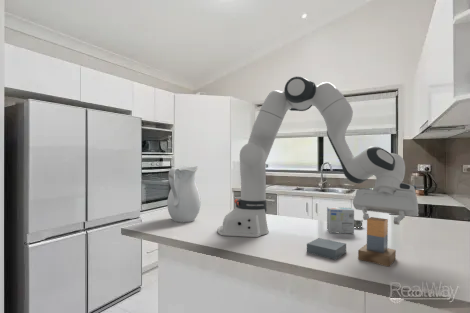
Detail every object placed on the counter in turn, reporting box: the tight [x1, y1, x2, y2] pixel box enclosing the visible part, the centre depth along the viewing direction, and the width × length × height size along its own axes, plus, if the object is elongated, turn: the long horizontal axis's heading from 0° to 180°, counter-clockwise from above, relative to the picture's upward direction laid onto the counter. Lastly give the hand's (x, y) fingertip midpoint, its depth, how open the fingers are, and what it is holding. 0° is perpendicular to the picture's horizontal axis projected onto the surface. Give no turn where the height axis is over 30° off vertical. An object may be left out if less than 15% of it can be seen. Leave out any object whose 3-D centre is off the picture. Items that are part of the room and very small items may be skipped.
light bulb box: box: [326, 206, 355, 234], centre depth 126 cm, size 11×7×11 cm, turn 84°
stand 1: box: [306, 237, 347, 260], centre depth 96 cm, size 10×10×3 cm
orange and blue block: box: [366, 216, 389, 254], centre depth 90 cm, size 5×5×10 cm
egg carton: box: [354, 218, 364, 229], centre depth 136 cm, size 11×8×4 cm
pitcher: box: [166, 165, 202, 223], centre depth 140 cm, size 24×17×28 cm
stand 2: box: [357, 243, 397, 267], centre depth 90 cm, size 9×9×3 cm
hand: (380, 221), depth 93 cm, fingers open, 8 cm apart
